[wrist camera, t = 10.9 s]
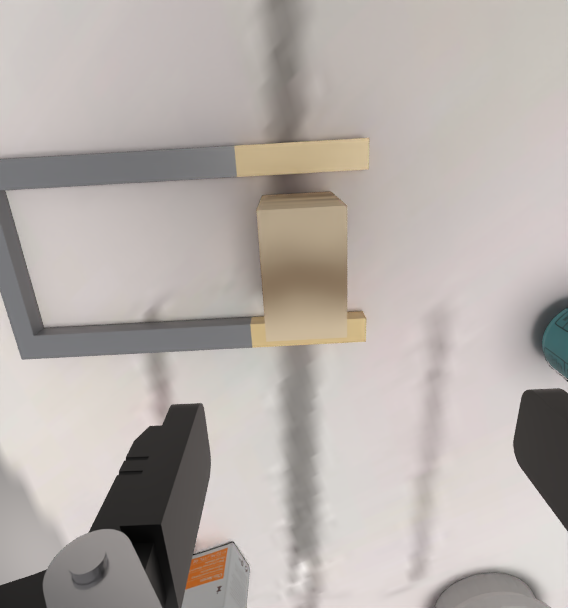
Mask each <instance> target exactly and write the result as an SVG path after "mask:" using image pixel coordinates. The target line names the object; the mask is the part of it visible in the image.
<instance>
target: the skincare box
mask: <svg viewBox="0 0 568 608" xmlns="http://www.w3.org/2000/svg"><path fill="white" fill-rule="evenodd" d="M249 573H250V568H249V566H248V564H247V563H246V561H245V560H244V558H243V557H242V555H241V554H240V552H239V551H238V549H237V548H236V546H235V544H234V543H230V544H228V545H225V546H222V547H218V548H215V549H212V550H209V551H206V552H203V553H200V554H196V555H193V556H192V561H191V565H190V570H189V575H188V579H187V584H186V588H185V593H184V598H183V602H182V607H181V608H247V596H248V585H249Z"/></svg>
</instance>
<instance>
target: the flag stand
mask: <svg viewBox="0 0 568 608" xmlns="http://www.w3.org/2000/svg"><path fill="white" fill-rule="evenodd" d="M435 608H551V607H549V606H548V605H547V604H545V603H544V602H542V601H539V600H537V599H536V598H535V596H534V594H533V593H532V591H531V589H530V588H529V587H528V585H527V584H526V583H525V582H523V581H522V580H520V579H519V578H516V577H514V576H512V575H507V574H503V573H482V574H478V575H473V576H470V577H467V578H464V579H462V580H460V581H458V582H456V583H454V584H453V585H451V586H450V587H448V588H447V589H446V590H445V591H444V592H443V593H442V594H441V595H440V597H439V599H438V600H437V602H436V605H435Z"/></svg>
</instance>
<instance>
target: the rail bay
mask: <svg viewBox="0 0 568 608" xmlns="http://www.w3.org/2000/svg"><path fill="white" fill-rule="evenodd" d="M368 169H369V138H359V139H341V140H324V141H307V142H290V143H272V144H255V145H238V146H220V147H203V148H186V149H169V150H151V151H134V152H117V153H100V154H82V155H65V156H48V157H31V158H13V159H0V292H1V295H2V298H3V301H4V304H5V308H6V311H7V314H8V317H9V320H10V324H11V327H12V330H13V333H14V336H15V340H16V343H17V346H18V349H19V352H20V355H21V359H41V358H60V357H79V356H99V355H118V354H137V353H156V352H175V351H195V350H214V349H233V348H252V347H271V346H291V345H310V344H329V343H348V342H366V317H365V315H364V313H363V311H356V312H347V338H327V339H308V340H288V341H269V342H266V331H265V318H264V316H262V317H243V318H224V319H205V320H186V321H168V322H149V323H130V324H111V325H92V326H73V327H54V328H44V327H43V323H42V320H41V316H40V312H39V309H38V305H37V302H36V298H35V295H34V291H33V288H32V284H31V281H30V277H29V274H28V270H27V267H26V263H25V259H24V256H23V252H22V249H21V245H20V242H19V238H18V235H17V231H16V228H15V224H14V221H13V217H12V214H11V210H10V207H9V203H8V199H7V196H6V192H5V190H17V189H35V188H52V187H70V186H87V185H105V184H123V183H140V182H158V181H175V180H193V179H210V178H228V177H245V176H263V175H280V174H298V173H315V172H333V171H351V170H368Z"/></svg>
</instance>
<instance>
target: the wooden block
mask: <svg viewBox="0 0 568 608" xmlns="http://www.w3.org/2000/svg"><path fill="white" fill-rule="evenodd" d="M256 212H257V225H258V238H259V251H260V265H261V278H262V291H263V305H264V318H265V331H266V342H269V341H288V340H308V339H327V338H347V205H346V204H345V203H344V202H342V201H341V200H340V199H339V198H338V197H337V196H335V195H334V194H333V193H332V192H313V193H295V194H277V195H262V197H261V200H260V203H259V205H258V208H257V210H256Z"/></svg>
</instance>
